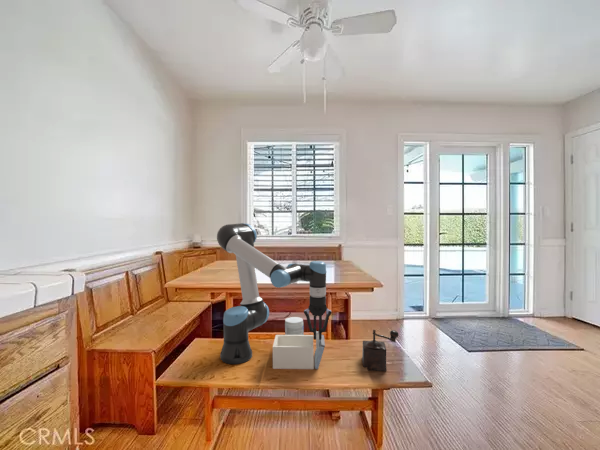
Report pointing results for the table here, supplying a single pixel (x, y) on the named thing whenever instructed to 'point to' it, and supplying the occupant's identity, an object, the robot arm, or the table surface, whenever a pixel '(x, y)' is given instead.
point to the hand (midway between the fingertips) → (317, 346)
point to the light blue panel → (319, 352)
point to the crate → (293, 352)
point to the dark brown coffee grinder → (376, 352)
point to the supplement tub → (294, 326)
